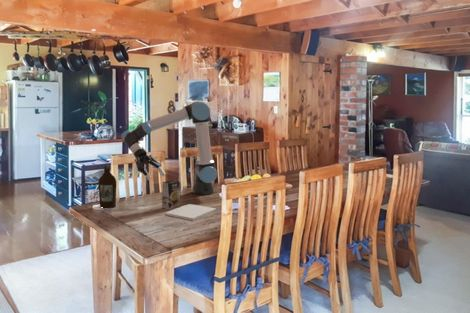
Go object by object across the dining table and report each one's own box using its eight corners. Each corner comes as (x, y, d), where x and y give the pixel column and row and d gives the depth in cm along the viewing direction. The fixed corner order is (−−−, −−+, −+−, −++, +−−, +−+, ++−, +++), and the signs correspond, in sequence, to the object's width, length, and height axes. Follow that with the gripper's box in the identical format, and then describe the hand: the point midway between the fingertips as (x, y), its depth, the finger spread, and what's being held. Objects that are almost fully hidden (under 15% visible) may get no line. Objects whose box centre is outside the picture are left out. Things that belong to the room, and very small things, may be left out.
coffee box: (169, 209, 256) (169, 183, 254) (162, 207, 260) (161, 182, 258) (180, 206, 263) (180, 181, 261) (172, 204, 267) (172, 179, 265)
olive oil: (100, 204, 265) (99, 165, 261) (118, 204, 266) (117, 164, 262) (97, 209, 254) (96, 168, 251) (115, 208, 256) (114, 168, 252)
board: (188, 205, 266) (188, 203, 266) (216, 210, 257) (216, 208, 256) (164, 214, 245) (164, 212, 245) (193, 220, 236) (193, 218, 236)
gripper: (148, 152, 282) (166, 177, 277) (121, 157, 260) (140, 184, 255) (154, 145, 278) (172, 170, 273) (127, 149, 257) (147, 176, 252)
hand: (157, 177), depth 264 cm, fingers open, 13 cm apart
